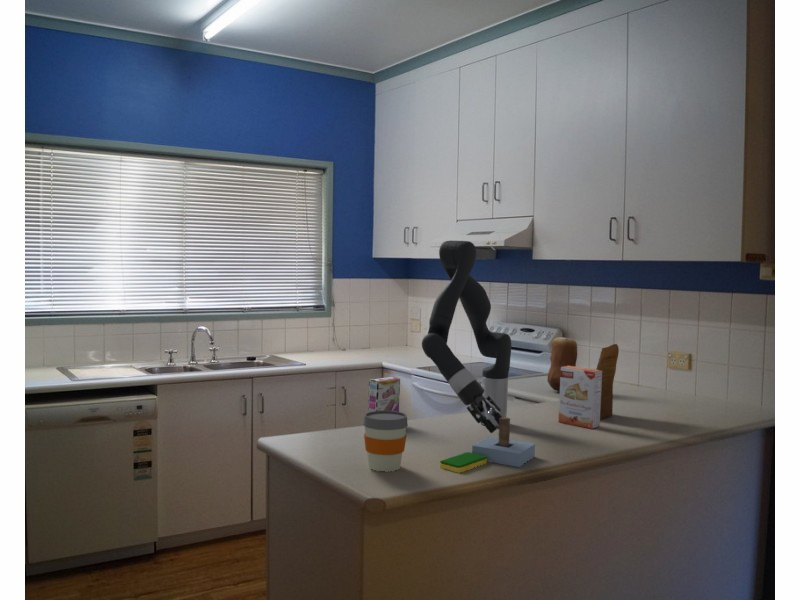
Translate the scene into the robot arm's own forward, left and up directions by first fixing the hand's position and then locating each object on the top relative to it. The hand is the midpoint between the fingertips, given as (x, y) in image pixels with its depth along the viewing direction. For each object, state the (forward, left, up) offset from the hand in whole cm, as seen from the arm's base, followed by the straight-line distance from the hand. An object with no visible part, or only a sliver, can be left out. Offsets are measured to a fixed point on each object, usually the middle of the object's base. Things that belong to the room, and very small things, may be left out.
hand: (499, 428), depth 220 cm
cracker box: (-57, +8, -9) cm, 58 cm away
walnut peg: (0, +2, -9) cm, 9 cm away
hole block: (0, +2, -9) cm, 9 cm away
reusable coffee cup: (+29, -23, -9) cm, 38 cm away
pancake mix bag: (-75, +12, -9) cm, 76 cm away
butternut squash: (-116, -16, -9) cm, 118 cm away
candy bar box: (-15, -50, -9) cm, 53 cm away
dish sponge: (+14, -5, -9) cm, 18 cm away
